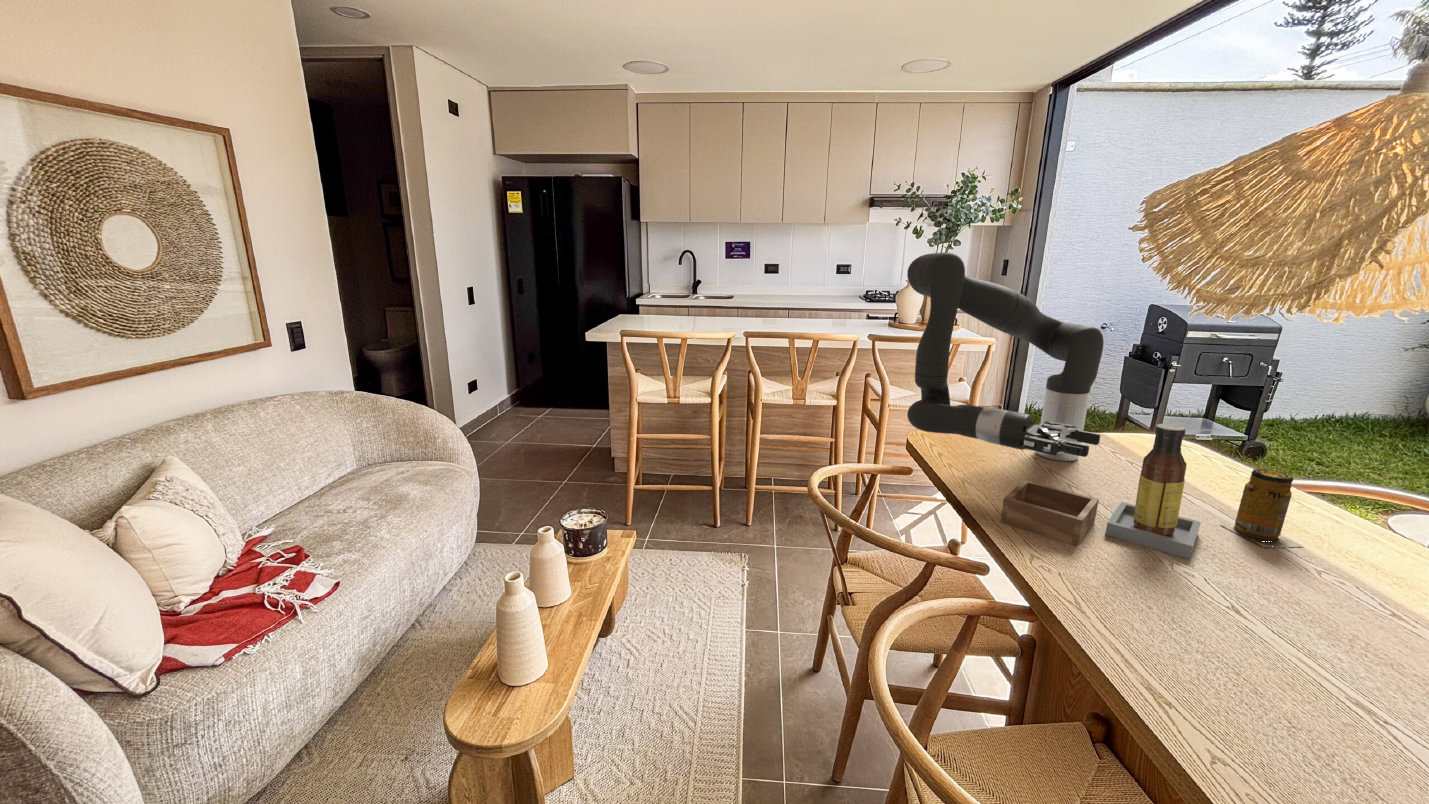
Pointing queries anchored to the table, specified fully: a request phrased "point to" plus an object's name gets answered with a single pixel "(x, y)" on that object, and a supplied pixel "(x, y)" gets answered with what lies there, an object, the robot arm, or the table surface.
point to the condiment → (1264, 508)
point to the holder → (1050, 511)
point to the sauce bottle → (1161, 482)
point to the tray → (1172, 544)
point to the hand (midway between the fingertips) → (1094, 445)
